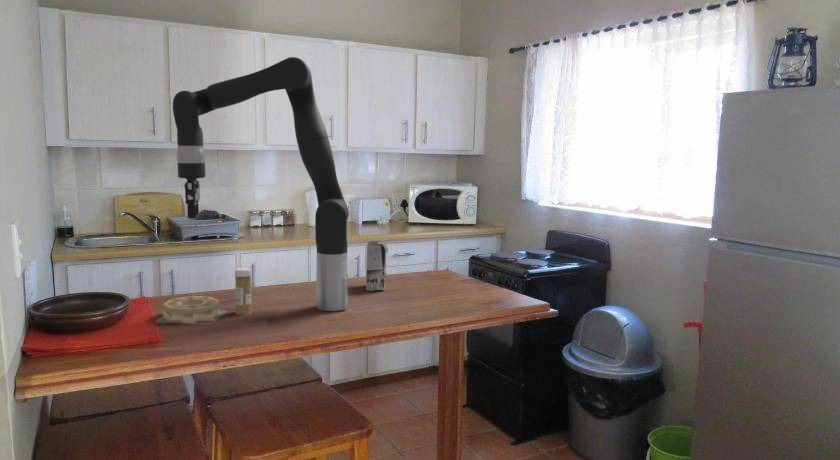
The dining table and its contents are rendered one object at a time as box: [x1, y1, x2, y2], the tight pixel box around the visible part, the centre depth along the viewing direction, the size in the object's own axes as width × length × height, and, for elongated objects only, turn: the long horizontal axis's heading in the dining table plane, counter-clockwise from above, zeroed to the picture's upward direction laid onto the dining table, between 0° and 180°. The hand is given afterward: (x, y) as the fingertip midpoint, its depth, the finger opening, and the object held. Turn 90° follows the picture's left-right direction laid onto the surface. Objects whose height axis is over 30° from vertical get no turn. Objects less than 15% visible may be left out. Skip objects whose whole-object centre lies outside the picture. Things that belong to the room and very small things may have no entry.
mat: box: [155, 309, 229, 325], centre depth 168 cm, size 16×14×1 cm
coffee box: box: [365, 240, 387, 291], centre depth 210 cm, size 9×6×16 cm
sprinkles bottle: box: [234, 267, 253, 316], centre depth 172 cm, size 5×5×13 cm
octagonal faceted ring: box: [162, 295, 220, 323], centre depth 167 cm, size 14×14×4 cm
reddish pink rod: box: [165, 319, 216, 324], centre depth 161 cm, size 12×1×1 cm, turn 101°
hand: (193, 216), depth 177 cm, fingers open, 8 cm apart
